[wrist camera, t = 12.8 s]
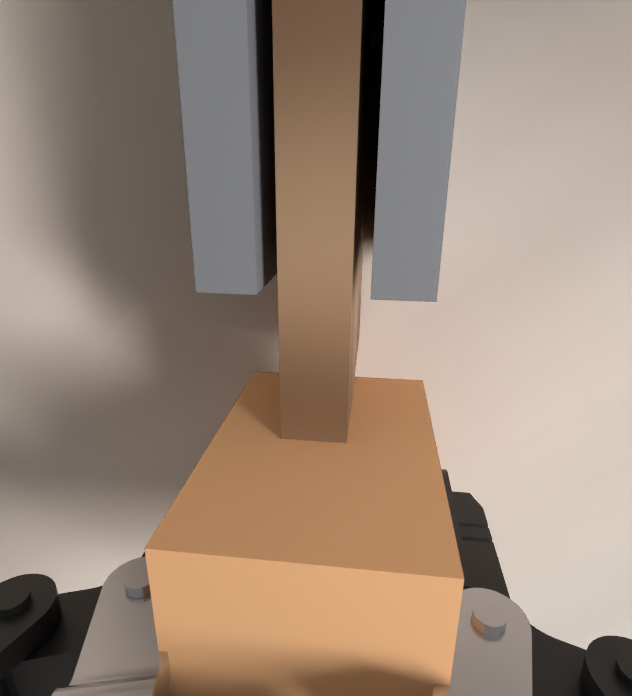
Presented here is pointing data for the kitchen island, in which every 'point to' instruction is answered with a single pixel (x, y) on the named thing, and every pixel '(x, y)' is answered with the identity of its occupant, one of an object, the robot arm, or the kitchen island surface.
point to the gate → (319, 207)
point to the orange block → (311, 555)
